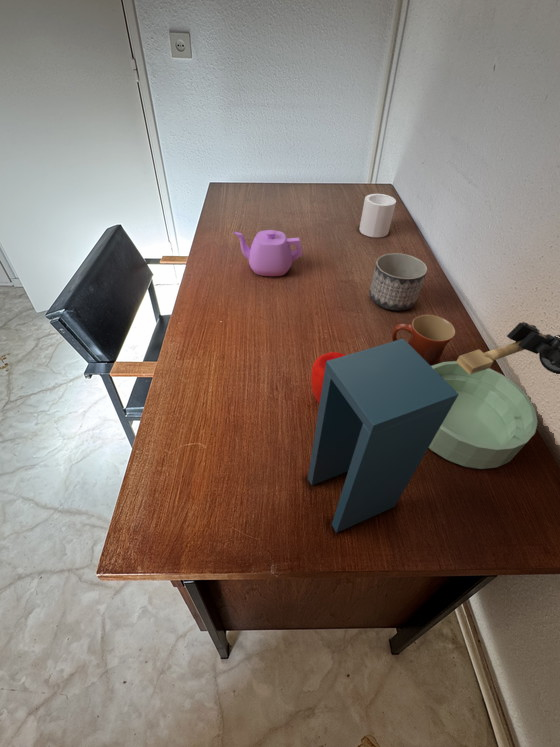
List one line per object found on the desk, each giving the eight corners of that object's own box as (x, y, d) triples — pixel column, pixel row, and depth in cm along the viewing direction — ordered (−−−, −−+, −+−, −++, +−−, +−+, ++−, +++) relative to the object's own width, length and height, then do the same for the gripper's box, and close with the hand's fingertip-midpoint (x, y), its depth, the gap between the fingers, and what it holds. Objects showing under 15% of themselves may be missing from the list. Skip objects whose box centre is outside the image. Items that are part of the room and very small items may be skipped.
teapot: (237, 255, 116) (235, 219, 108) (301, 257, 116) (303, 222, 108) (232, 278, 107) (230, 241, 99) (302, 280, 107) (304, 243, 99)
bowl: (542, 447, 69) (564, 425, 64) (455, 488, 63) (472, 466, 58) (464, 373, 82) (477, 350, 77) (385, 401, 76) (394, 377, 71)
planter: (371, 283, 106) (378, 249, 99) (416, 291, 104) (427, 257, 97) (365, 308, 98) (373, 273, 90) (414, 317, 96) (427, 282, 88)
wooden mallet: (533, 336, 62) (538, 328, 61) (548, 347, 60) (554, 339, 59) (456, 362, 57) (459, 354, 56) (469, 375, 56) (474, 367, 54)
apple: (342, 423, 72) (351, 386, 64) (301, 407, 74) (304, 369, 66) (356, 393, 77) (366, 355, 69) (318, 378, 80) (323, 340, 72)
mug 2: (369, 218, 137) (375, 188, 129) (396, 225, 133) (403, 195, 126) (354, 232, 129) (359, 200, 121) (381, 240, 125) (389, 208, 118)
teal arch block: (395, 506, 60) (459, 394, 40) (336, 533, 57) (373, 425, 37) (362, 456, 67) (403, 338, 46) (307, 478, 63) (326, 361, 43)
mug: (438, 353, 86) (453, 318, 79) (440, 379, 80) (457, 344, 73) (385, 344, 88) (396, 309, 81) (384, 369, 82) (395, 334, 75)
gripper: (585, 397, 68) (540, 385, 54) (522, 347, 77) (469, 326, 63) (623, 367, 65) (585, 345, 50) (551, 319, 74) (502, 289, 59)
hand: (521, 335), depth 57 cm, fingers closed on wooden mallet, 1 cm apart
